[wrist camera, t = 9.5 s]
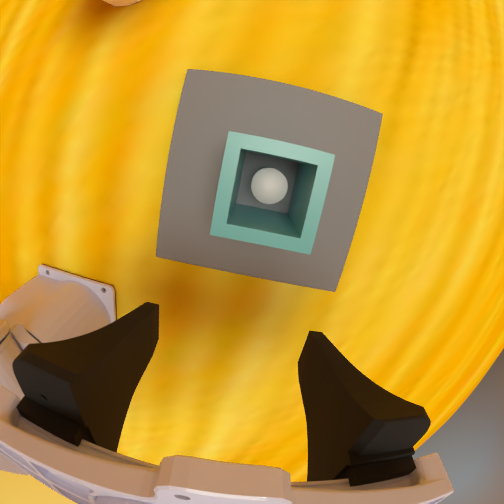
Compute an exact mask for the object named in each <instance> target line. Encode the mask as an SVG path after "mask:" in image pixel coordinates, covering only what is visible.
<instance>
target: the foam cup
mask: <svg viewBox="0 0 504 504" xmlns="http://www.w3.org/2000/svg"><path fill="white" fill-rule="evenodd" d="M102 1H105V2H107V3H109V4H111V5H113V6H115V7H117V6H129V5H131V4H134V3H136V2H139V1H142V0H102Z"/></svg>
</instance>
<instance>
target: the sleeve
mask: <svg viewBox="0 0 504 504" xmlns="http://www.w3.org/2000/svg"><path fill="white" fill-rule="evenodd" d="M246 152H251V153H257V154H262V155H266V156H271V157H276V158H280V159H285V160H289V161H294V162H298V163H299V165H298V170H297V174H296V179H295V183H294V187H293V192H292V196H291V201H290V205H289V209H288V214H287V213H282V212H277V211H273V210H268V209H263V208H258V207H253V206H248V205H243V204H238V203H236V200H237V195H238V190H239V184H240V179H241V174H242V169H243V164H244V159H245V154H246ZM334 158H335V155H334V154H330V153H327V152H323V151H319V150H316V149H312V148H308V147H304V146H300V145H296V144H291V143H287V142H283V141H278V140H274V139H269V138H264V137H259V136H254V135H248V134H243V133H237V132H231V131H229V132H228V137H227V142H226V147H225V152H224V157H223V162H222V167H221V173H220V178H219V183H218V189H217V195H216V200H215V206H214V212H213V218H212V224H211V230H210V235H213V236H218V237H223V238H229V239H234V240H239V241H244V242H249V243H254V244H259V245H264V246H269V247H274V248H280V249H285V250H290V251H295V252H300V253H305V254H311V251H312V247H313V243H314V240H315V236H316V232H317V229H318V225H319V221H320V217H321V213H322V209H323V205H324V201H325V197H326V193H327V189H328V185H329V180H330V176H331V172H332V167H333V163H334Z"/></svg>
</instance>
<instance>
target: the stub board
mask: <svg viewBox="0 0 504 504" xmlns="http://www.w3.org/2000/svg"><path fill="white" fill-rule="evenodd" d="M381 120H382V113H379V112H376V111H374V110H371V109H369V108H366V107H363V106H360V105H358V104H355V103H352V102H349V101H346V100H343V99H340V98H337V97H334V96H330V95H327V94H324V93H320V92H317V91H313V90H309V89H306V88H302V87H298V86H294V85H290V84H285V83H281V82H276V81H271V80H266V79H261V78H256V77H250V76H244V75H238V74H231V73H223V72H215V71H205V70H194V69H188V70H187V74H186V78H185V81H184V85H183V89H182V94H181V98H180V102H179V106H178V111H177V115H176V120H175V125H174V130H173V135H172V140H171V145H170V151H169V157H168V163H167V169H166V175H165V181H164V188H163V195H162V203H161V211H160V219H159V228H158V238H157V249H156V257H160V258H165V259H169V260H174V261H179V262H183V263H188V264H193V265H198V266H203V267H207V268H212V269H217V270H222V271H227V272H232V273H237V274H242V275H247V276H252V277H257V278H262V279H268V280H273V281H278V282H283V283H289V284H294V285H300V286H305V287H311V288H316V289H322V290H327V291H333V292H335V291H336V288H337V285H338V282H339V279H340V276H341V273H342V270H343V267H344V264H345V261H346V258H347V255H348V252H349V249H350V245H351V242H352V239H353V236H354V232H355V229H356V226H357V222H358V219H359V215H360V211H361V208H362V204H363V200H364V196H365V193H366V189H367V185H368V181H369V177H370V172H371V168H372V164H373V159H374V155H375V150H376V145H377V141H378V136H379V131H380V125H381ZM229 131H231V132H237V133H243V134H248V135H254V136H259V137H264V138H269V139H274V140H278V141H283V142H287V143H291V144H296V145H300V146H304V147H308V148H312V149H316V150H319V151H323V152H327V153H330V154H334V155H335V158H334V163H333V167H332V172H331V176H330V180H329V185H328V189H327V193H326V197H325V201H324V205H323V209H322V213H321V217H320V221H319V225H318V229H317V232H316V236H315V240H314V243H313V247H312V251H311V254H305V253H300V252H295V251H290V250H285V249H280V248H274V247H269V246H264V245H259V244H254V243H249V242H244V241H239V240H234V239H229V238H223V237H218V236H213V235H210V230H211V224H212V218H213V212H214V206H215V200H216V195H217V189H218V183H219V178H220V173H221V167H222V162H223V157H224V152H225V147H226V142H227V137H228V132H229ZM298 165H299V163H298V162H294V161H289V160H285V159H280V158H276V157H271V156H266V155H262V154H257V153H251V152H246V154H245V159H244V164H243V169H242V174H241V179H240V184H239V190H238V195H237V200H236V203H238V204H243V205H248V206H253V207H258V208H263V209H268V210H273V211H277V212H282V213H287V214H288V209H289V205H290V201H291V196H292V192H293V187H294V183H295V179H296V174H297V170H298Z"/></svg>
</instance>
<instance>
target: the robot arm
mask: <svg viewBox="0 0 504 504" xmlns="http://www.w3.org/2000/svg"><path fill="white" fill-rule="evenodd" d="M48 271H49V272H48ZM38 272H39V275H37V276H36V277H34V278H33V279H31V280H30V281H29V282H27V283H26V284H24V285H23V286H22V287H20V288H19V289H17V290H16V291H15V292H13V293H12V294H11V295H9V296H8V297H7V298H6V299H5V300H4V301H3V302H2V303H1V305H0V470H3V471H7V472H11V473H16V474H23V475H29V474H30V475H31V476H33V477H34V478H36V479H37V480H39V481H40V482H42V483H43V484H45V485H46V486H48V487H50V488H51V489H53V490H54V491H56V492H58V493H60V494H61V495H63V496H65V497H67V498H68V499H70V500H72V501H74V502H76V503H78V504H436V503H438V502H439V501H441V500H442V499H444V498H445V497H447V496H448V495H449V494H451V493H452V492H453V491H454V490H453V487H452V485H451V483H450V480H449V478H448V476H447V473H446V471H445V468H444V466H443V464H442V462H441V459H440V457H439V455H438V453H433V454H430V455H426V456H422V457H420V458H417V459H416V460H414V461H413V458H412V455H413V454H414V453H415V451H414V448H413V446H414V445H415V444H416V443H417V442H418V441H419V440H420V439H421V438H422V437H423V435H424V434H425V433H426V432H427V430H428V429H429V426H430V422H431V421H430V419H429V417H428V415H427V413H426V411H425V409H424V407H422V406H419V405H416V404H414V403H411V402H408V401H406V400H404V399H402V398H400V397H397V396H395V395H394V394H392V393H390V392H388V391H386V390H385V389H383V388H382V387H380V386H378V385H377V384H375V383H374V382H373V381H371V380H370V379H369V378H367V377H366V376H365V375H363V374H362V373H361V372H360V371H359V370H358V369H357V368H355V367H354V366H353V365H352V364H351V363H350V362H349V361H348V360H347V359H346V358H345V357H344V356H343V355H342V354H341V353H340V352H339V351H338V349H337V348H336V347H335V346H334V345H333V344H332V343H331V342H330V341H329V340H328V338H327V337H326V336H325V335H324V334H323V333H322V332H316V331H309V334H308V336H307V339H306V342H305V345H304V347H303V350H302V353H301V355H300V358H299V361H298V376H299V384H300V389H301V394H302V399H303V404H304V409H305V414H306V421H307V435H308V475H307V482H291V480H290V473H288V472H286V471H284V470H282V469H281V468H278V467H271V466H263V465H249V464H239V463H230V462H222V461H215V460H209V459H203V458H197V457H191V456H181V455H175V456H169V457H165V458H163V460H162V461H161V463H160V466H158V465H154V464H151V463H147V462H144V461H140V460H137V459H134V458H131V457H128V456H125V455H122V454H119V453H116V452H117V448H118V443H119V439H120V435H121V431H122V428H123V424H124V421H125V417H126V414H127V411H128V408H129V405H130V402H131V399H132V396H133V394H134V391H135V389H136V387H137V385H138V383H139V381H140V379H141V377H142V375H143V373H144V371H145V369H146V367H147V365H148V363H149V361H150V359H151V357H152V355H153V353H154V350H155V347H156V344H157V341H158V339H159V305H158V304H154V303H150V302H146V303H144V304H143V305H141V306H139V307H138V308H136V309H135V310H133V311H131V312H130V313H128V314H126V315H125V316H123V317H121V318H120V319H118V320H116V309H115V290H114V288H113V287H112V286H111V285H108V284H104V283H101V282H97V281H94V280H90V279H87V278H84V277H80V276H77V275H74V274H71V273H67V272H64V271H61V270H58V269H55V268H52V267H49V266H46V265H43V264H41V265H40V266H39V267H38ZM103 288H105V289H106V291H105V290H104V289H103Z"/></svg>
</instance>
